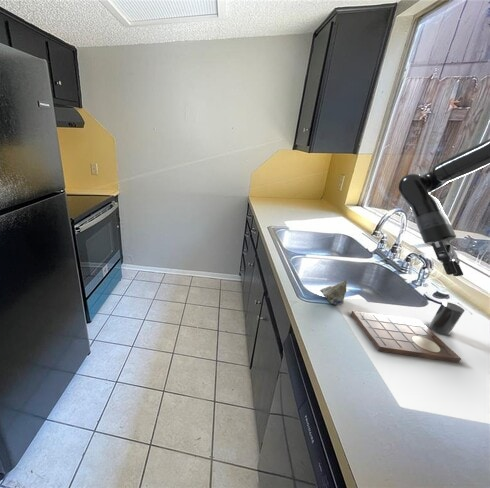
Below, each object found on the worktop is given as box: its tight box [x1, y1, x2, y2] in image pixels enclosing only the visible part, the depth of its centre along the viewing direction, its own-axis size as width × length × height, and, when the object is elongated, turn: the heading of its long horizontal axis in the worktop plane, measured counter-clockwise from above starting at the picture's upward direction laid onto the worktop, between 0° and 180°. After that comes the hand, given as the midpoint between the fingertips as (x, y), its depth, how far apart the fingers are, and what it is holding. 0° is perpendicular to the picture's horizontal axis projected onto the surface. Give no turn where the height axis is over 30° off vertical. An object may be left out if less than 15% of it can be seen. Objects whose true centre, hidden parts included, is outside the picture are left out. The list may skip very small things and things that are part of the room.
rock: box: [319, 279, 348, 305], centre depth 92 cm, size 11×6×10 cm
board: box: [350, 310, 462, 364], centre depth 78 cm, size 20×16×2 cm
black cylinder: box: [428, 301, 465, 336], centre depth 80 cm, size 5×5×9 cm
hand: (455, 275), depth 81 cm, fingers open, 8 cm apart
